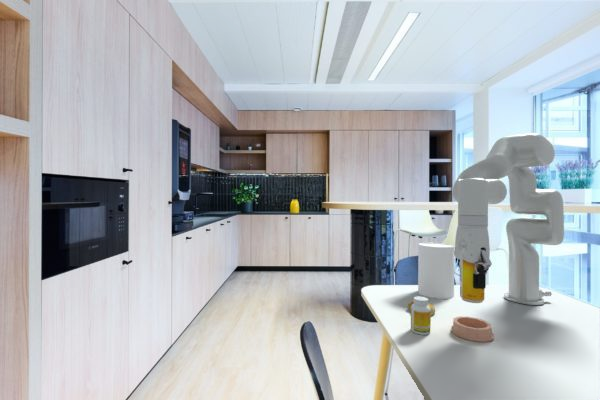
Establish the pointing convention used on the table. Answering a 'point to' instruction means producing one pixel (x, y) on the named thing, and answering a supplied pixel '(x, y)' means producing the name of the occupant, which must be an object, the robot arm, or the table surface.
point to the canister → (436, 270)
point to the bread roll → (428, 305)
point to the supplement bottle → (420, 316)
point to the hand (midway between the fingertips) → (472, 284)
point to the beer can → (469, 281)
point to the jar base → (472, 329)
